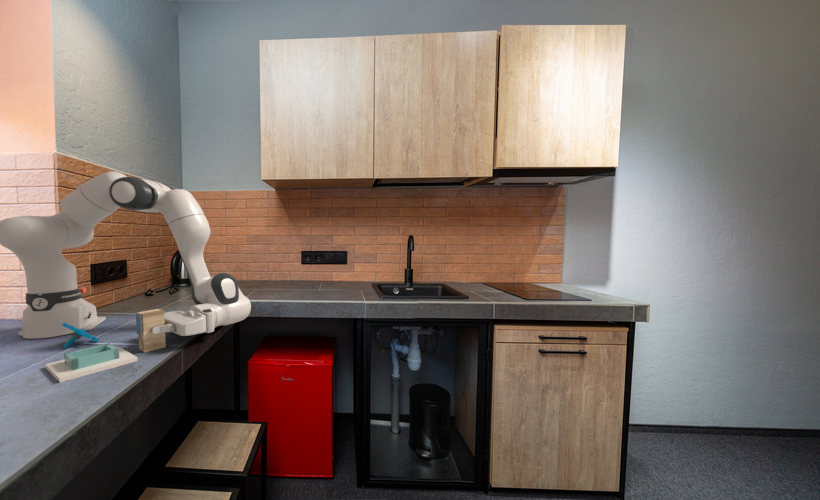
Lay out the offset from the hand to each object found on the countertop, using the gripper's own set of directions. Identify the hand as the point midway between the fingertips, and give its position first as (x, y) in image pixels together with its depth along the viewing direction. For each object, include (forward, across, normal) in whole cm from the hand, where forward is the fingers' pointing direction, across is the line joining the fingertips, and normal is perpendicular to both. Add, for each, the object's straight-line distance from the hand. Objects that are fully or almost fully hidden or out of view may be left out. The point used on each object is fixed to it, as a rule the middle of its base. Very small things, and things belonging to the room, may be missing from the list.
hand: (147, 329), depth 90 cm
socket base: (+12, 0, +6) cm, 13 cm away
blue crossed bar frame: (+9, -22, +6) cm, 25 cm away
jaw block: (-1, 0, +6) cm, 6 cm away
